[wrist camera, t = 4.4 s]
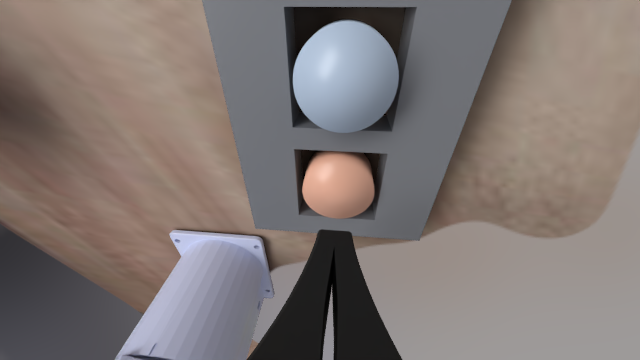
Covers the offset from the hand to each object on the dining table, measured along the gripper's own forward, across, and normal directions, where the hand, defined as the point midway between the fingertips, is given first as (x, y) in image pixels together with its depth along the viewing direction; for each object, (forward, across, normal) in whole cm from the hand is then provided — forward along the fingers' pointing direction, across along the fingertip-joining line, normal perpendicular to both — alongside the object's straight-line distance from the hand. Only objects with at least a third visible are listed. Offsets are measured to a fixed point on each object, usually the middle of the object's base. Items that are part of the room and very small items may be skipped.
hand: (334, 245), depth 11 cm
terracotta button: (+5, 0, 0) cm, 5 cm away
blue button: (+5, 0, -6) cm, 8 cm away
